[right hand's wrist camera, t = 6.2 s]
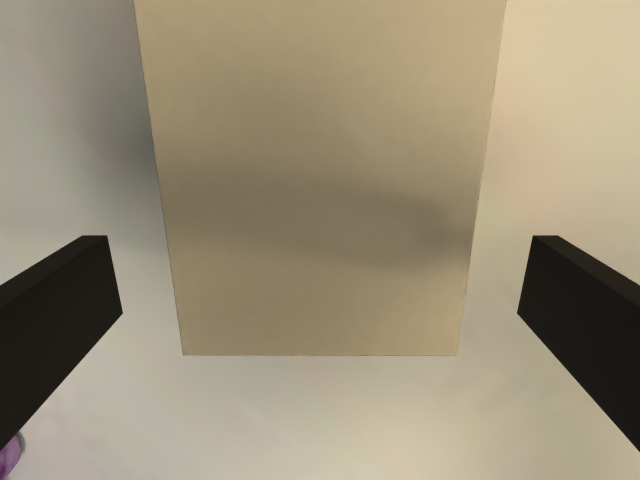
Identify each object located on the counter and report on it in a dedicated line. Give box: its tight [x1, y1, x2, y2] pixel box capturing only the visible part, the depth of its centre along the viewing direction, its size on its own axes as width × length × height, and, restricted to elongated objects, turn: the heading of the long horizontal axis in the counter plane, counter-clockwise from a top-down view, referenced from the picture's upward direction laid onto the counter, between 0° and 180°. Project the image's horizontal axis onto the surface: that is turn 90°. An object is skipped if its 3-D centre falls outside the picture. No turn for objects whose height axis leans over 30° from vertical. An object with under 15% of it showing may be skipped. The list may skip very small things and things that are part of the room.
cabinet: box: [133, 0, 506, 356], centre depth 16 cm, size 21×11×9 cm, turn 0°
